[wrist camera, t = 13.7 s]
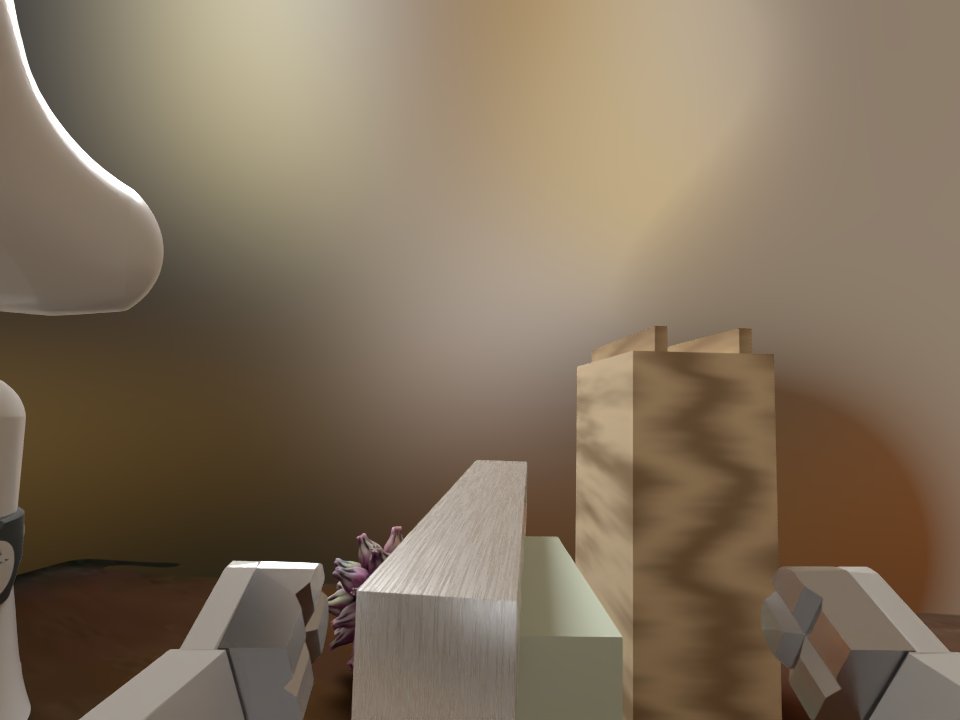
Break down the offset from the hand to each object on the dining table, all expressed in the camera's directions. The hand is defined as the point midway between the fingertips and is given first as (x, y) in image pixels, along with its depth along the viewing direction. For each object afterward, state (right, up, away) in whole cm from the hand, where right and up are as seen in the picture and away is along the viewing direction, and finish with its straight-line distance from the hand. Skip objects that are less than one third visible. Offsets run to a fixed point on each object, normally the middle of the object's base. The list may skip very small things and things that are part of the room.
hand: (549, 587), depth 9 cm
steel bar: (+1, -4, +13) cm, 14 cm away
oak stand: (+12, -22, +28) cm, 38 cm away
